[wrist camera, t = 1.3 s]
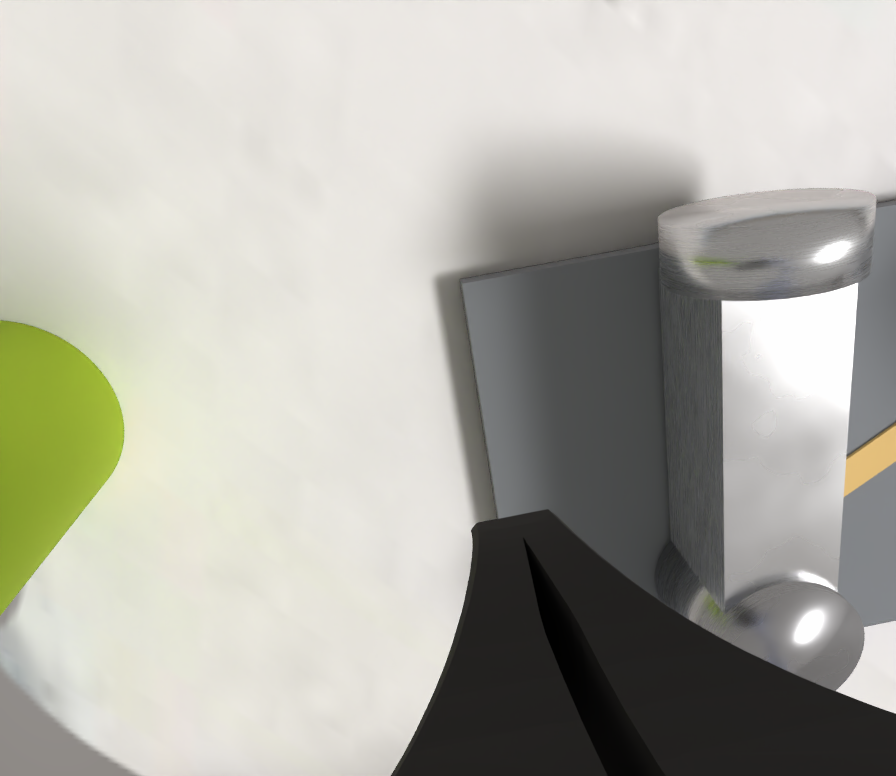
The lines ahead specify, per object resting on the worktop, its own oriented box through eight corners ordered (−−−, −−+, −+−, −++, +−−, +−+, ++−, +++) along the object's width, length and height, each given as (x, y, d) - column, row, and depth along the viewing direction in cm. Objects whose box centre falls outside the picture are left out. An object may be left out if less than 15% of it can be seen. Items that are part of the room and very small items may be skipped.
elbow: (784, 608, 23) (876, 715, 19) (654, 634, 23) (718, 749, 19) (797, 182, 18) (930, 198, 14) (630, 213, 18) (710, 237, 13)
